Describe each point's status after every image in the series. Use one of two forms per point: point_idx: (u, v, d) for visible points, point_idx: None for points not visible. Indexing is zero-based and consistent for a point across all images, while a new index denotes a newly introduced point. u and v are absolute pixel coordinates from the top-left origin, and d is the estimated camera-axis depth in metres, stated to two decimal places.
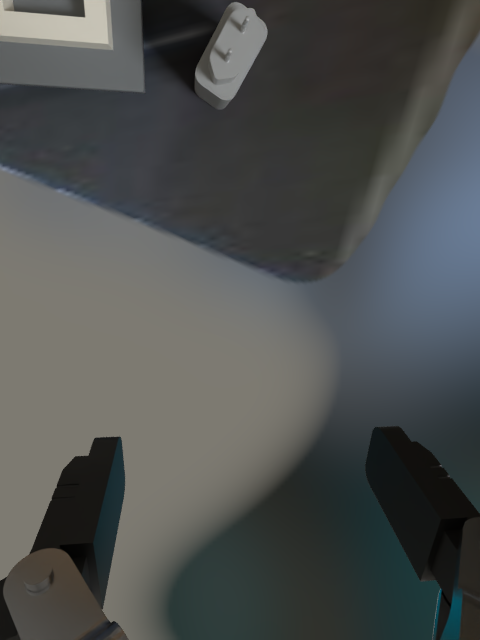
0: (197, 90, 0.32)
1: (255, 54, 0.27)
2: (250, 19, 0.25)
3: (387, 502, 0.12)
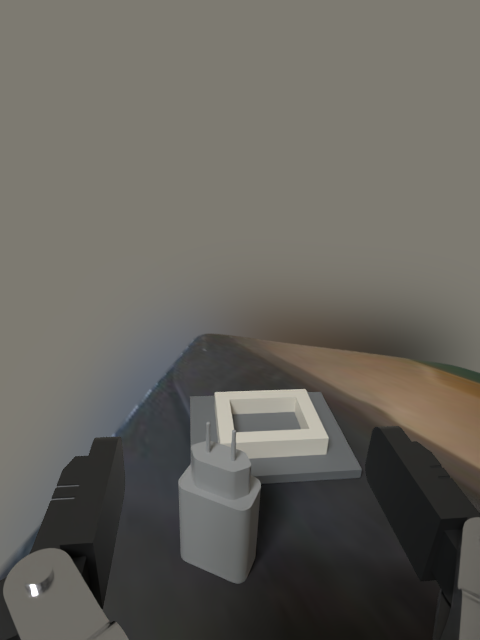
0: None
1: (222, 502, 0.26)
2: (242, 464, 0.26)
3: (387, 502, 0.12)
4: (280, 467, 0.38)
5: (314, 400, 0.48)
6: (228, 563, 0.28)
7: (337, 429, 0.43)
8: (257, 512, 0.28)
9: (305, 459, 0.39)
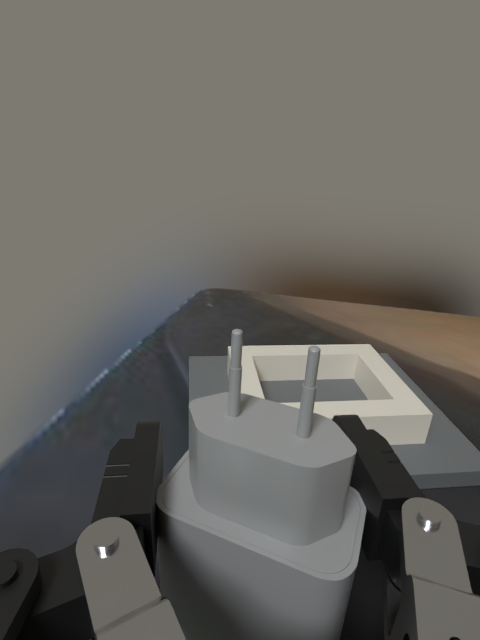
0: None
1: (274, 554, 0.09)
2: (332, 449, 0.09)
3: None
4: None
5: None
6: None
7: (430, 404, 0.26)
8: None
9: None
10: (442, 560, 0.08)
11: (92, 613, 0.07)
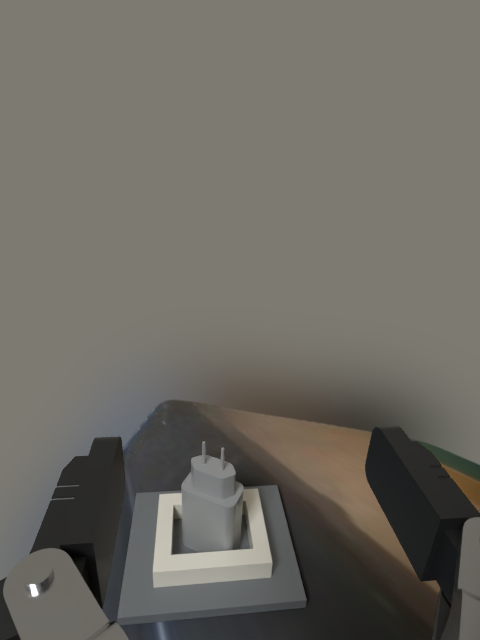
0: None
1: (213, 501, 0.35)
2: (229, 473, 0.35)
3: (387, 502, 0.12)
4: (218, 598, 0.35)
5: (269, 497, 0.45)
6: (218, 547, 0.37)
7: (288, 540, 0.40)
8: (240, 509, 0.37)
9: (247, 584, 0.36)
10: None
11: None
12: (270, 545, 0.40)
